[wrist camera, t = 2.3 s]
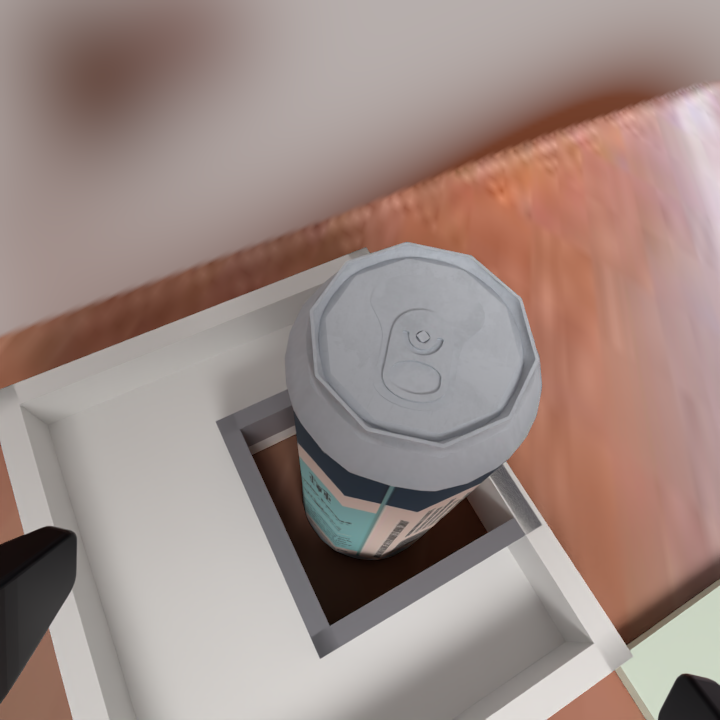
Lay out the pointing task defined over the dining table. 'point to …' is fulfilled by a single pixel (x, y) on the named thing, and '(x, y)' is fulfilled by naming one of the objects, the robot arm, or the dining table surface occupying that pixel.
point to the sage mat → (674, 651)
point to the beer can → (406, 393)
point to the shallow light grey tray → (267, 551)
